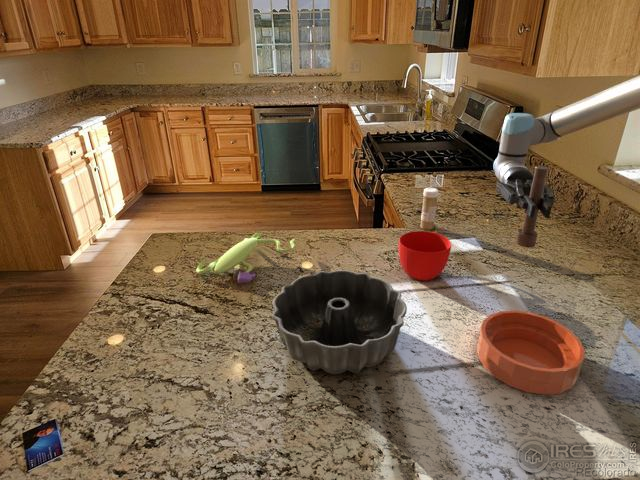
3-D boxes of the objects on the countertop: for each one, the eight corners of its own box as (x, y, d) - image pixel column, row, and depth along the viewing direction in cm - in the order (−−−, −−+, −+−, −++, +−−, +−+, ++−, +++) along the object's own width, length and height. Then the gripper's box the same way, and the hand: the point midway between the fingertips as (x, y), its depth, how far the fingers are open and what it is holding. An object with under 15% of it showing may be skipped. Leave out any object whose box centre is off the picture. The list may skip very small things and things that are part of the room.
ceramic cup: (455, 264, 117) (461, 231, 113) (438, 293, 104) (442, 258, 100) (411, 253, 123) (414, 222, 119) (388, 280, 110) (391, 245, 106)
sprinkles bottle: (417, 226, 141) (421, 188, 135) (430, 225, 142) (434, 186, 136) (423, 232, 137) (428, 192, 131) (436, 230, 138) (441, 191, 132)
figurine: (305, 256, 122) (305, 238, 120) (233, 296, 104) (231, 276, 101) (261, 238, 133) (260, 222, 130) (189, 272, 114) (186, 254, 112)
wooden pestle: (536, 241, 104) (553, 166, 96) (533, 249, 101) (552, 171, 93) (516, 238, 106) (532, 164, 98) (514, 244, 103) (530, 168, 95)
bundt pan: (259, 383, 78) (255, 340, 73) (288, 302, 101) (286, 266, 97) (405, 398, 74) (410, 353, 70) (400, 310, 98) (404, 273, 94)
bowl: (577, 351, 85) (585, 327, 82) (573, 412, 71) (583, 385, 69) (486, 324, 93) (491, 301, 90) (467, 374, 80) (471, 349, 77)
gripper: (544, 194, 115) (574, 229, 94) (484, 191, 118) (500, 224, 97) (551, 167, 112) (583, 197, 91) (488, 165, 115) (506, 193, 94)
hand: (540, 211), depth 94 cm, fingers closed on wooden pestle, 3 cm apart
